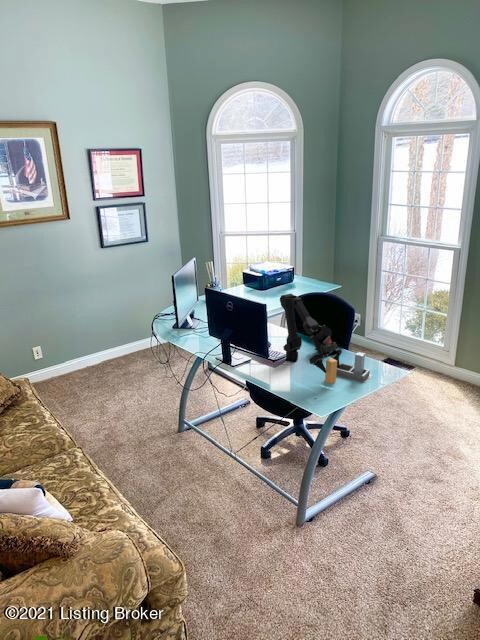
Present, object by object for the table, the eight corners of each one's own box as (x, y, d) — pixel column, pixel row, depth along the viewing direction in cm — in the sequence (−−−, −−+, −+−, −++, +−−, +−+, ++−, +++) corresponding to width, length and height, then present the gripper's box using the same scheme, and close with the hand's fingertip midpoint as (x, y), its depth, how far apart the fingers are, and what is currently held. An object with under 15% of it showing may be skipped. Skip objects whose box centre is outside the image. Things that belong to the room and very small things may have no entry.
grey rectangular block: (351, 376, 255) (353, 354, 251) (355, 372, 259) (357, 351, 255) (361, 379, 253) (363, 356, 248) (364, 375, 257) (366, 353, 252)
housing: (329, 374, 259) (330, 368, 258) (338, 366, 268) (339, 360, 267) (364, 384, 248) (365, 378, 247) (372, 375, 258) (373, 369, 256)
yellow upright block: (323, 381, 252) (324, 359, 247) (330, 379, 255) (332, 357, 250) (329, 385, 248) (331, 363, 243) (337, 383, 250) (338, 360, 246)
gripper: (313, 341, 242) (327, 369, 237) (340, 334, 251) (354, 360, 246) (303, 350, 251) (316, 377, 246) (330, 343, 260) (342, 368, 255)
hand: (332, 370), depth 248 cm, fingers open, 9 cm apart
